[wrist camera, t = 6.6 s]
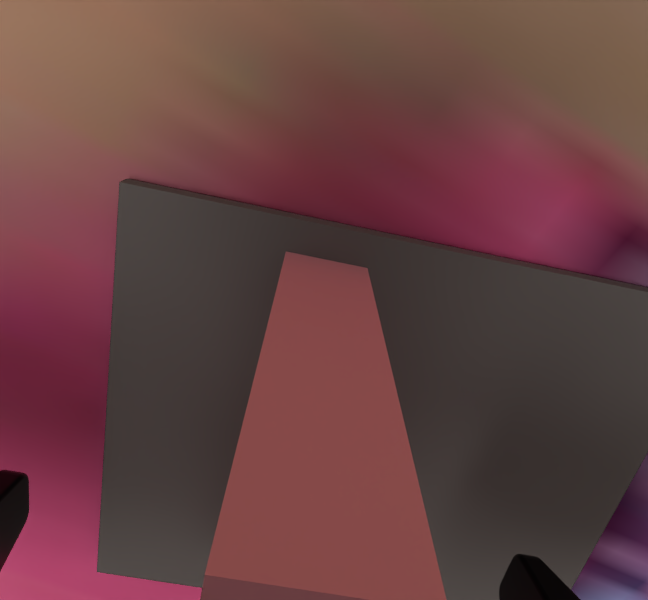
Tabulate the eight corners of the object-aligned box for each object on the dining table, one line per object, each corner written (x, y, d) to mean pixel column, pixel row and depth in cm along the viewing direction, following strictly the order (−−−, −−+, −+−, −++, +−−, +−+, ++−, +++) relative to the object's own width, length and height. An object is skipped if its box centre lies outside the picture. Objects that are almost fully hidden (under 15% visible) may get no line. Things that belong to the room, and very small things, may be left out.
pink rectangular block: (291, 563, 13) (256, 1050, 6) (228, 553, 13) (126, 1039, 6) (367, 267, 10) (449, 611, 3) (286, 251, 10) (204, 574, 3)
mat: (537, 624, 14) (543, 639, 14) (103, 558, 13) (96, 572, 13) (713, 300, 10) (727, 309, 10) (127, 178, 10) (119, 181, 9)
